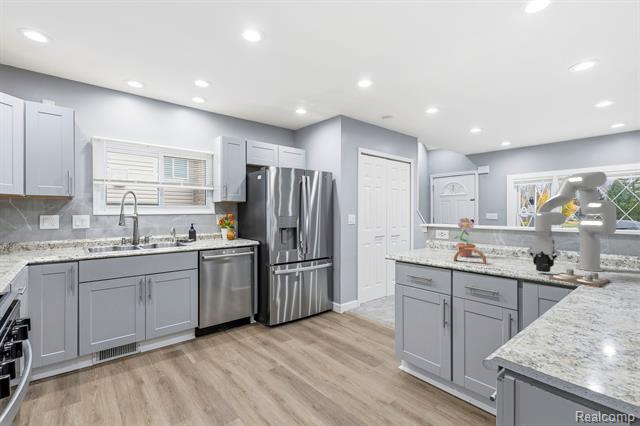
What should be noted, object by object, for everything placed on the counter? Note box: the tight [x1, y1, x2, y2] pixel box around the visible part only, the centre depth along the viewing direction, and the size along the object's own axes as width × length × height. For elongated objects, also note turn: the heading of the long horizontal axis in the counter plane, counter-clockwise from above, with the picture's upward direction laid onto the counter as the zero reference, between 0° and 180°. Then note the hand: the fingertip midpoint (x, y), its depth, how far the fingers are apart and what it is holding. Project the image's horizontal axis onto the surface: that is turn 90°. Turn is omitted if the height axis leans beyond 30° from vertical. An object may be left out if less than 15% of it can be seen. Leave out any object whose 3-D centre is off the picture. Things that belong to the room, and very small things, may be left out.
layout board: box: [548, 268, 611, 288], centre depth 157 cm, size 19×20×4 cm
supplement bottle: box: [535, 251, 552, 273], centre depth 173 cm, size 7×7×12 cm
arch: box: [453, 248, 488, 265], centre depth 209 cm, size 6×20×10 cm, turn 51°
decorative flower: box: [454, 217, 476, 258], centre depth 235 cm, size 15×14×30 cm
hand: (543, 265), depth 173 cm, fingers closed on supplement bottle, 6 cm apart
